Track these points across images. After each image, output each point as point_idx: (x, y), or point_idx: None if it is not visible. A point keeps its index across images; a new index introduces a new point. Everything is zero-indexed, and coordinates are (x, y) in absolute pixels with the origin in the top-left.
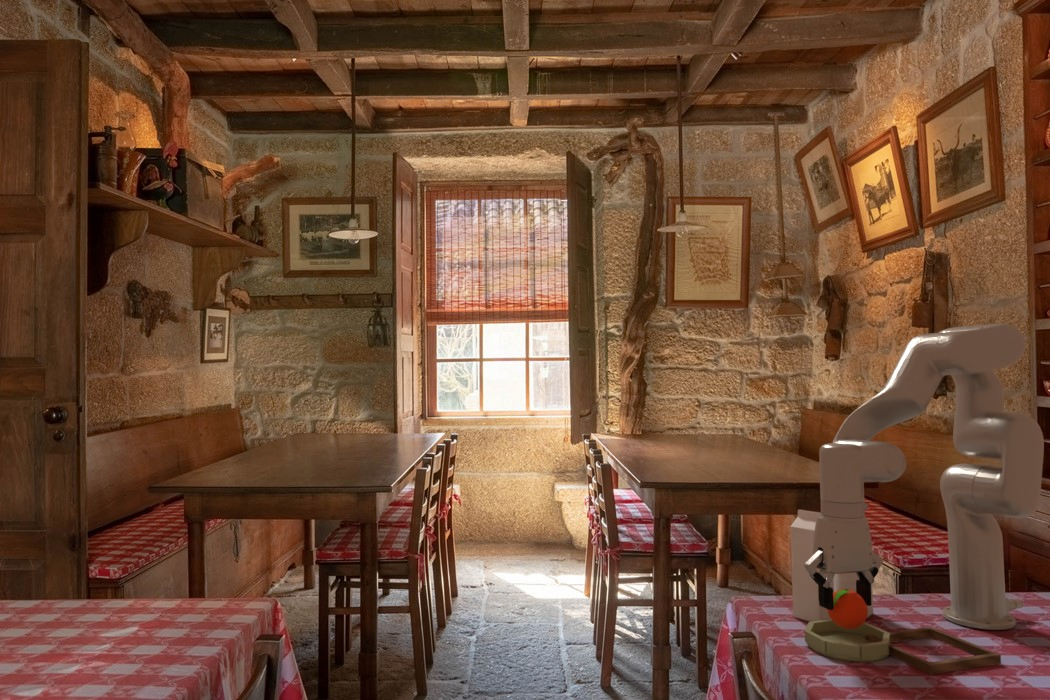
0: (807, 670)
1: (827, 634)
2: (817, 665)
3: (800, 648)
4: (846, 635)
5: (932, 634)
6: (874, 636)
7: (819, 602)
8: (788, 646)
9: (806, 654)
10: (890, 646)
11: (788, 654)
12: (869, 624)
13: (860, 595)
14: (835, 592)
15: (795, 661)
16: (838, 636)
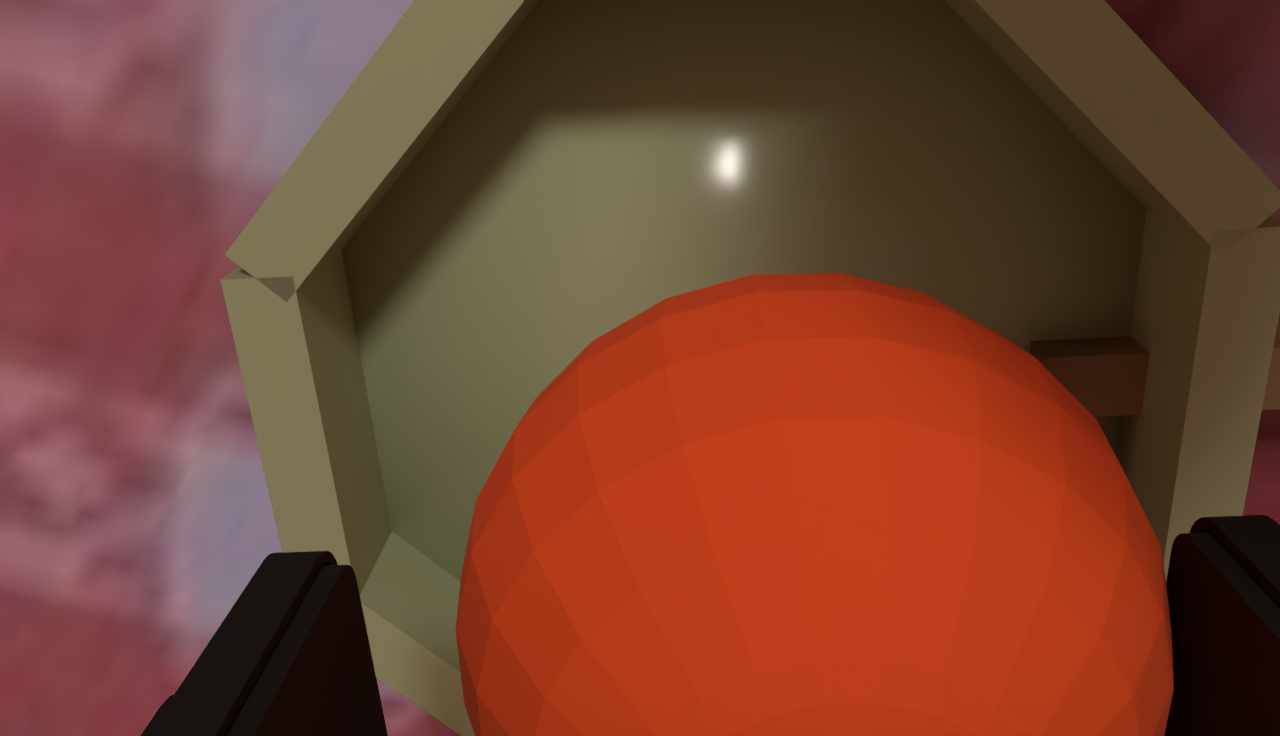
0: (56, 704)
1: (692, 71)
2: (188, 646)
3: (212, 257)
4: (905, 169)
5: None
6: (1118, 412)
7: (258, 582)
8: (100, 167)
9: (202, 415)
10: None
11: (17, 369)
12: (1265, 281)
13: (1232, 718)
14: (625, 723)
15: (23, 530)
16: (780, 177)
